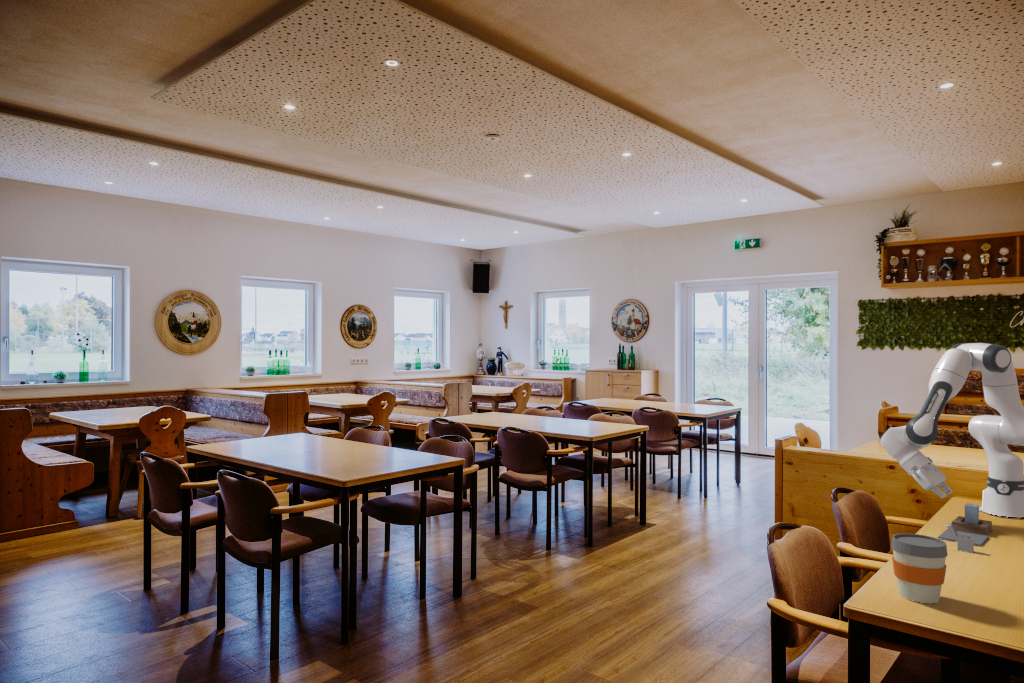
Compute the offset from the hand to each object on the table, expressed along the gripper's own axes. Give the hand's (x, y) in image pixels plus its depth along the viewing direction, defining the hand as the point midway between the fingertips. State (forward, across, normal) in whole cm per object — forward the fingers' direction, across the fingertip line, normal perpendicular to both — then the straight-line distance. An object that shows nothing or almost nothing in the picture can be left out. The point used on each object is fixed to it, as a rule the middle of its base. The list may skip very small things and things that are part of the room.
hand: (947, 495), depth 236 cm
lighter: (+15, -31, +2) cm, 34 cm away
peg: (+13, 0, +3) cm, 13 cm away
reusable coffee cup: (+16, -87, +1) cm, 88 cm away
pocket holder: (+13, 0, +3) cm, 13 cm away
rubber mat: (+13, -14, +3) cm, 20 cm away
